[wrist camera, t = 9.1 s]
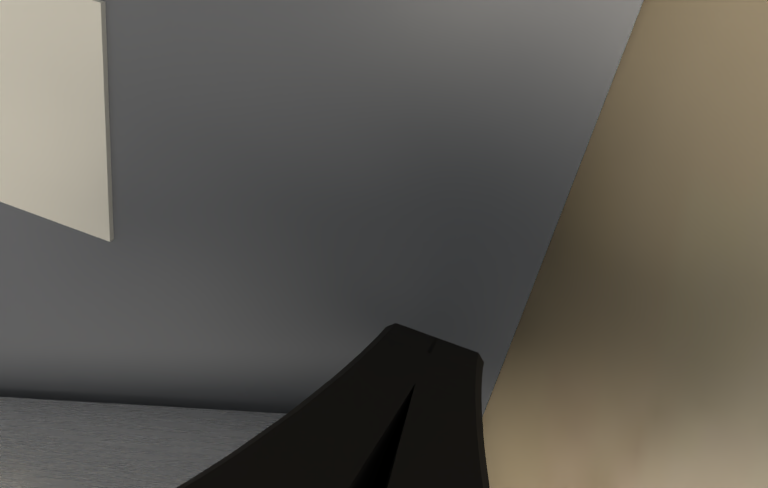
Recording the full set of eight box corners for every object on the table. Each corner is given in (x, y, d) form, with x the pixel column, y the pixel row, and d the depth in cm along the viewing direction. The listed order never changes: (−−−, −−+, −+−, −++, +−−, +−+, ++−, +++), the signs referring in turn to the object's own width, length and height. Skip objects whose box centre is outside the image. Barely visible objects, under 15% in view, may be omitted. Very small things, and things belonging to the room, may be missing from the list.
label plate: (-132, 436, 19) (-160, 456, 18) (-384, -315, 10) (-458, -330, 9) (381, 672, 16) (370, 706, 15) (666, -71, 7) (670, -68, 6)
